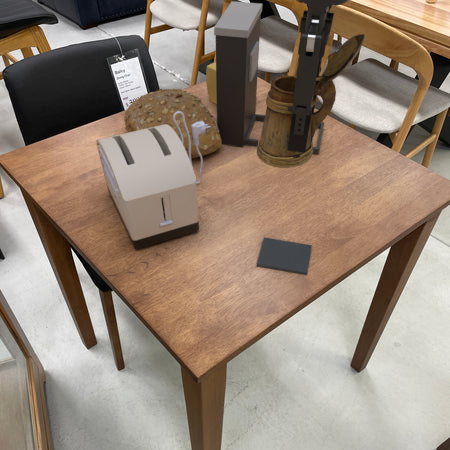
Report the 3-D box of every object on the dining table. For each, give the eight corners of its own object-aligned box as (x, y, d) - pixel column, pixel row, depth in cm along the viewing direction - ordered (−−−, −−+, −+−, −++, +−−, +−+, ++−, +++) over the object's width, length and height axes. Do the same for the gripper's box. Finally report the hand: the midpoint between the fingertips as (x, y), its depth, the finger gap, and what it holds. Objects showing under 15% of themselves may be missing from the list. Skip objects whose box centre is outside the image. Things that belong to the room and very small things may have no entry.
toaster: (105, 190, 102) (86, 120, 88) (204, 165, 108) (201, 95, 95) (134, 255, 89) (117, 183, 75) (244, 221, 95) (248, 150, 82)
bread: (119, 130, 119) (110, 85, 109) (191, 112, 125) (188, 68, 116) (151, 177, 105) (144, 131, 96) (230, 154, 111) (230, 109, 102)
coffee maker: (324, 124, 121) (345, 10, 99) (317, 157, 110) (339, 38, 89) (230, 113, 125) (231, 1, 103) (216, 144, 114) (214, 27, 93)
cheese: (232, 89, 134) (232, 54, 126) (257, 102, 128) (258, 66, 121) (206, 100, 129) (205, 65, 121) (231, 114, 124) (231, 78, 116)
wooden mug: (341, 171, 69) (370, 47, 55) (255, 167, 70) (262, 44, 56) (336, 140, 74) (362, 21, 61) (257, 137, 75) (264, 19, 61)
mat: (311, 247, 90) (311, 245, 90) (306, 275, 85) (307, 272, 85) (263, 239, 91) (263, 237, 91) (256, 266, 87) (256, 264, 86)
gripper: (305, -63, 58) (286, 104, 76) (281, -18, 46) (265, 169, 64) (362, -60, 57) (329, 109, 75) (352, -12, 45) (316, 176, 63)
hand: (300, 137), depth 70 cm, fingers closed on wooden mug, 7 cm apart
